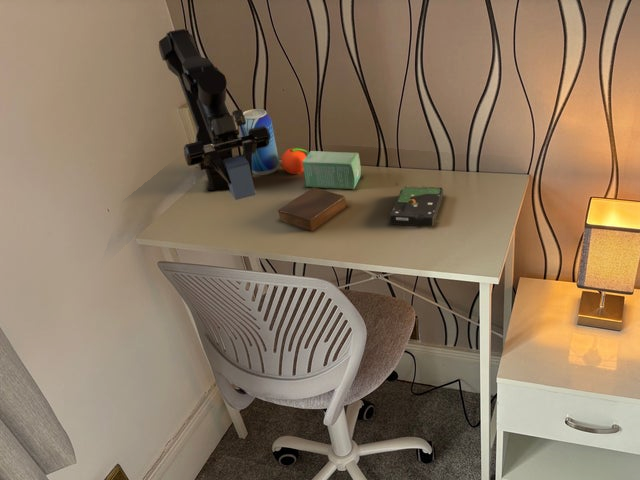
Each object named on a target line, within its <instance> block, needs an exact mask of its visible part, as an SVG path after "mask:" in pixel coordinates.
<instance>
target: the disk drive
mask: <svg viewBox="0 0 640 480" xmlns="http://www.w3.org/2000/svg"><path fill="white" fill-rule="evenodd" d="M443 197H444V190H443V187H436V186H435V187H433V186H431V187H430V186H421V187H417V186H415V187H413V186H407V185H405V186H404V187H402V188H401V189H400V191H399V194H398V196H397V198H396V200H395V203H394V205H393V207H392V209H391V211H390V215H389V218H390V224H393V225H401V226H402V225H403V226H417V227H418V226H419V227H421V226H422V227H433V226H434V225H435V222H436V218H437V216H438V213H439V209H440V207H441V203H442V200H443Z"/></svg>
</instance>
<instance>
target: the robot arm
mask: <svg viewBox="0 0 640 480" xmlns="http://www.w3.org/2000/svg"><path fill="white" fill-rule="evenodd" d="M158 49H159V54H160V56H161V59H162V61H163V62H164V61H165V64H166V66H167V69H168V70H169V71H170V72H171V73H172V74H174V75H175V76H176V77H177V78H178V82H179V84H180V86H181V87H180V88H181V89H182V93H183V95H184V97H185V100H186V104H187V106H188V109H189V112H190V115H191V117H192V120H193V123H194V126H195V130H196V137H195V142H194V141H193V142H190V143H186V144H185V145H184V146H183V156H184V160H185V162H186V164H187V166H189V167H192V166H195V165H197V166H198V167H199V169H200V170H201V171H205V174H206V178H207V187H206V190H207V192H212V191H213V192H214V191H220V190H227V189H229V185H228V183H229V184H231V181H230V178H229V175H228V173H227V171H226V169H225V167H224V165H223V159H227V158H231V157H234V156H233V149H237V148H241V149H242V155H243V156H244V157H245V158H246V160H247V161H248V162H249V167H250V172H251V176H252V178H253V176H254V175H253V174H254V173H253V171H252V154H254V153H255V152H256V149H260V148H264V147H267V146H268V145H269V141H270V133H269V131H268V129H267V128H266V127H264V126H262V127H257V128H253V129H249V135H248V136H244V137H242V136H241V137H240V136H239V135H240V126H241V125H245V124H246V121H245V117H244V115H243V112H244V111H243V110H242V109H237V110H233V111H232V112H231V113H232V114H230V112H229V109H228V107H227V105H226V100H227V84H228V82H227V78H226V75H225V74H224V73H223V72H221V71H220V70H219V69H218V67H217V66H215V65H214V63H213V62H212V61H211V60H210V59H209V58H206V57H202V56H201V54H200V53H199V51H198V47H197V44H196V42H195V39H194V35H193V34H191V33H190V31H189V29H185V28H181V29H175V30H170V31H168V32H166V35H165V36H164V37H163V38H161V39H160V40H159V41H158Z"/></svg>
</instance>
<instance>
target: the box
mask: <svg viewBox="0 0 640 480" xmlns="http://www.w3.org/2000/svg"><path fill="white" fill-rule="evenodd" d="M308 153H309V154H308ZM308 153H307V155H306V158H305V159H304V160H303V162H302V163H303V170H304V171H303V176H304V183H305V187H306V188H313V187H314V188H318V189H342V190H355V188H356V186H357V184H358V182H359V180H360V179H361V175H362V170H361V169H362V167H361V160H360V154H359V152H350V151H349V152H345V151H343V152H342V151H321V150H320V151H318V150H310V151H309V152H308Z"/></svg>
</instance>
